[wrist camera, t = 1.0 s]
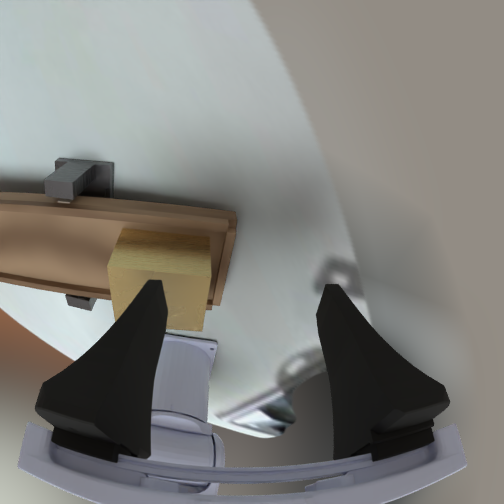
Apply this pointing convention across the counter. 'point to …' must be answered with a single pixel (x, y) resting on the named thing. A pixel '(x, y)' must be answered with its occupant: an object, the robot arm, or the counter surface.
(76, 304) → the pivot stand
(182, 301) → the tan wooden block
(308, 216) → the counter surface
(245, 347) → the counter surface
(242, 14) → the counter surface
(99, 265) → the beam
